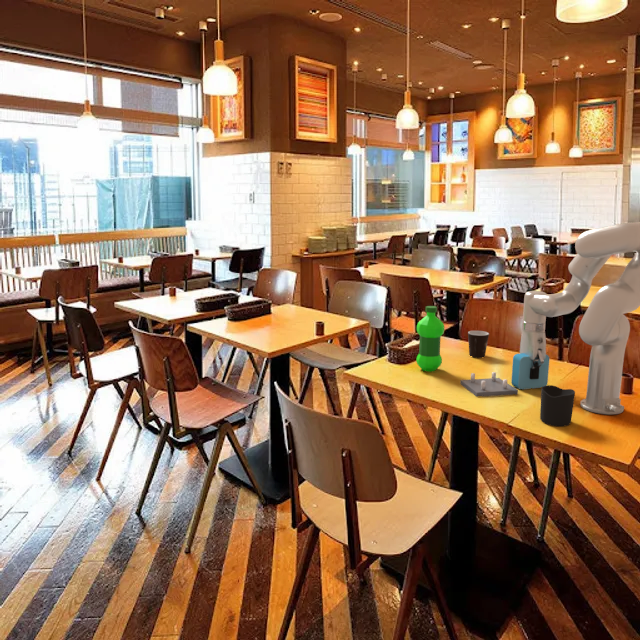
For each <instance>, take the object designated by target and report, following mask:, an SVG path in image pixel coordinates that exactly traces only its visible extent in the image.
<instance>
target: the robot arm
mask: <svg viewBox="0 0 640 640" xmlns="http://www.w3.org/2000/svg"><path fill="white" fill-rule="evenodd" d="M574 245H575V246H574V248H575V252H576V253H577V254H575V256H574V257H573V259H572V260H571V261H570V263H569V264H568V267H567V268H568V272H569V274H571V275H572V276H571V279H570V282H569V283H568V284H567V286H566V287H565V288H564V289H563V291H562V292H557V293H551V294H547V293H546V292H544V291H540V290H539V291H538V290H529V291H527V292H525V294H524V298H523V310H522V311H523V314H522V325H521V326H522V327H521V335H520V336H521V337H520V343H519V344H520V346H519V354H520V353H524V354H526V355H528V356H530V359H531V366H532V368H530V379H539V368H540V366H541V365H542V364H543V363H544V360H545V357H546V355H547V353H546V351H547V341H546V340H547V338H546V331H545V330H546V321H547V320H546V319H547V317H548V318H553V317H554V318H555V317H559V316H562V315H569V314H571V313H573V312H574V311H575V310H577V308H578V307H579V306H580V305H581V304H582V302H583V301H584V300H585V299H586V297H587V296H588V294H589V292H590V290H591V287H592V283H593V279H594V278H595V277H596V276H597V275H598V273H599V271H600V270H602V268H603V266H604V265H605V264H606V263H607V261H609V259H610V258H611V256H614V255H620V254H626V253H634V252H635V254H634V256H633V257H632V258H631V260H629V262H628V263H627V265H626V266H625V268H624V270H623V272H622V274H621V276H620V277H619V279H618V280H617V281H616V282H614V283H609V284H605V285H604V286H602V287H601V288H600V289H598V291H596V293H595V295H594V296H593V298H592V300H591V302H590V303H589V306H588V308H587V309H586V311H585V312H584V314H583V317H582V318H581V321H580V324H579V326H578V334H579V336H580V339H581V340H582V341H583V342H584V343H585V344H587V345H590V346H591V351H590V354H589V355H590V357H589V367H588V374H587V375H588V376H587V385H586V386H587V387H586V395H585V398H583V399H582V400H580V401H579V402H580V403H579V405H580V407H581V408H582V409H583V410H586V411H588V412H591V413H594V414H599V415H600V414H601V415H609V416H610V415H619V414H621V413H623V412H624V409H625V406H624V405H622V404H621V400H622V399H621V398H620V395H621V393H620V392H621V387H622V386H621V385H622V376H623V368H624V367H623V366H624V358H625V352H626V347H627V343H628V340H629V336H630V333H631V324H630V321H629V319H628V318H627V316H626V315H625V314H628V313H632V312H634V311H636V310H637V309H639V307H640V221H635V222H623V223H618V224H613V225H609V226H604V227H599V228H595V229H594V228H593V229H589V230H585V231H584V232H582V233H581V234H579V236H578V237H577V239H576V240H575V244H574ZM535 358H537V359H535ZM534 361H537V362H536V363H535V364H534Z"/></svg>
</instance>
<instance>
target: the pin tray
mask: <svg viewBox="0 0 640 640" xmlns="http://www.w3.org/2000/svg"><path fill="white" fill-rule="evenodd" d="M459 381H460V382H459V383H460V386H462V387H463V388H465V389H466V390H467V391H468V392H470V393H471V394H472V395H474V396H475V397H476V398H478V396H482V397H495V396H512V395H513V394H515V395H518V394H519V390H518V388H516V387H515V386H513V385H512V384H510V383H508V379H506V378H503V379H502V378H500V377H497V372H495V371H492V372H491V377H489V378H476V373H474V372H471V373H470V379H460V380H459Z"/></svg>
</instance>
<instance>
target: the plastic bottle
mask: <svg viewBox="0 0 640 640" xmlns="http://www.w3.org/2000/svg"><path fill="white" fill-rule="evenodd" d="M425 312H426V315H425V316H424V317H423V318H422V319H421V320H419V321H418V322H417V325H416V333H417V334H418V335H419V342H418V343H419V344H418V345H419V347H418V348H419V349H418V350H419V351H418V354H417V356H416V360H415V361H416V364H417V366H418V367H419V368H420V369H421V370H422V371H424V372H430V373H431V372H435V371H436V370H437V369H438V368H439V367H441V365H442V364H443V363H442V362H443V358H442V356H441V337H442V335H444V332H445V324H444V322H443V321H442V320H440V319H439V318H438V317H437V316H436V313H438V307H437V306H436V305H427V306H425Z"/></svg>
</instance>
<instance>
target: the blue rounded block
mask: <svg viewBox="0 0 640 640" xmlns="http://www.w3.org/2000/svg"><path fill="white" fill-rule="evenodd" d="M535 359H537V358H535ZM536 362H537V361H534V364H535V363H536ZM549 367H550V355H548V354H546V357H545V360H544V363H543V364H542V365H541V366H540V368H539V379H530V368H532V366H531V359H530V356H528V355H526V354H524V353H520V352H519V353H516V354H514V355H513V357H512V366H511V368H512V369H511V380H510V382H511V386H512V387H514V388H516V389H519V390H521V389H522V390H529V389H531V388H532V389H539V388H540V389H541V387H543V386H548V382H549V372H550V371H549V369H550V368H549Z"/></svg>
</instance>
